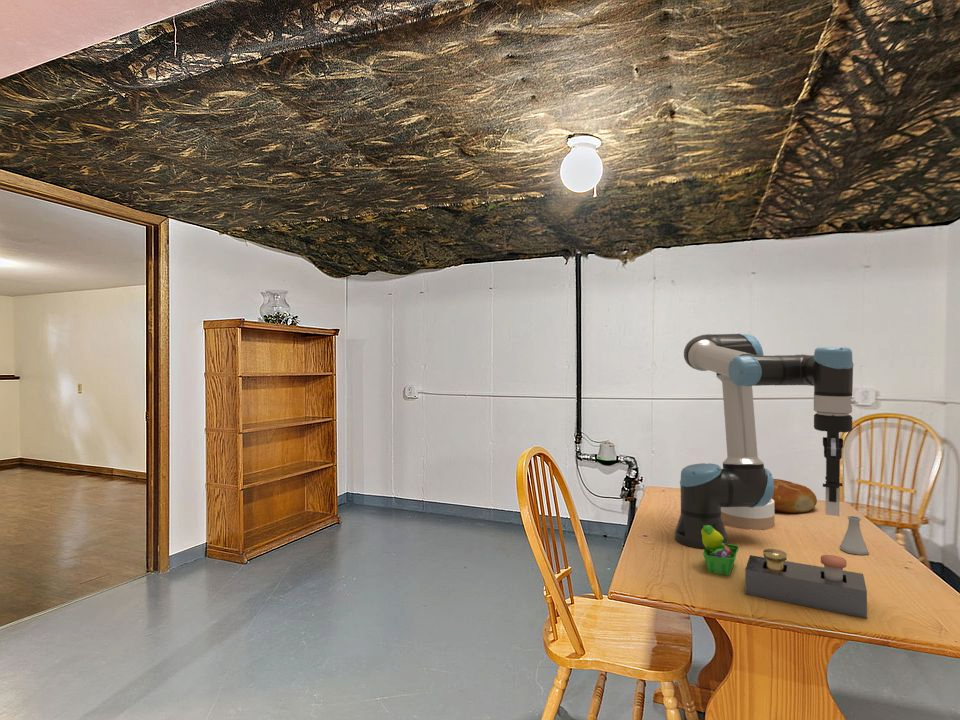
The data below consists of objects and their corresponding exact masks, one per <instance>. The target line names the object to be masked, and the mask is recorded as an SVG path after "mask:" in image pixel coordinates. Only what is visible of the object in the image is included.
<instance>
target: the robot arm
mask: <svg viewBox="0 0 960 720" xmlns="http://www.w3.org/2000/svg"><path fill="white" fill-rule="evenodd" d="M683 358H684V362H685V363H686V364H687V365H688V366H689V367H690V368H692V369H694V370H696V371H700V372H701V371H702V372H707V371H710V372H713V373H715V374H716V378H717V379H718V380H720V381H721V383H722V384H721V385H722V400H723V411H724V412H723V413H724V425H725V427H724V428H725V441H726V443H725V444H726V453H727V455H726V458H725V459H724V460H723V461H722V468H721V465H719V464H716V463H711V462H710V463H694V464H690V465H689V464H688V465H686V466H685V467H683V468H682V470H681V472H680V480H679V485H680V486H679V487H680V515H679V519H678V521H677V524H676V526H675V531H674V539H675V541H676V542H678V544H679V543H680V544H681V545H685V546H688V547H692V548H696V549H704V550H705V548H706V547H705V546H704V544H703V541H702V534H701V530H702V529H703V526H704V525H705V526H707V525H710V526H712V527H713V528H714V529H715V530H716V531H718V532H719V533H720V534H721V535H722V536H723V538H724V540H723V541H722V543H725V544H728V533H727V531H726V529H725V524H724V523H723V522H722V519H721V507H750V508H753V507H759V506H765V505H766V504H768V503H769V501H770V500H771V498H772V496H773V492H774V480H773V479H774V477H773V474H772V473H771V471H770V469H768V468H766V467H765V465H764V464H765V463H764V462H763V461H762V460H761V459H760V458H759V457H758V456H759V455H758V444H757V442H758V441H757V432H756V431H757V430H756V420H755V419H756V417H755V407H754V406H755V405H754V393H753V387H754V386H756V387H758V386H760V387H761V386H811V387H813V390H814V391H813V411H814V412H815V413H814V415H813V428H814V429H815V430H817V431H820V432H826V437H825V436H823V437H822V446H823V456H824V458H825V483H822V487H823V488H825V509H824V510H825V515H826V516H835V517H840V502H841V501H840V499H841V498H840V493H841V492H840V488H841V487H843V483H842V482H840V477H841V476H840V475H841V474H840V473H841V471H840V470H841V469H840V468H841V465H840V464H841V463H840V462H841V459H843V448H844V438H840V433H850V432H851V431H853V416H852V415H850V414H852V413H853V405H855V404H856V400H855V399H853V389H854V388H853V387H854V386H853V382H854V380H853V379H854V365H855V364H854V362H853V351H852V349H851V348H849V347H846V346H845V347H843V346H841V347H838V346H837V347H834V346H833V347H831V346H830V347H828V346H827V347H822V346H821V347H816V348H815V349H814V353H813V355H811V354H793V355H788V354H787V355H786V354H785V355H784V354H783V355H781V354H779V355H764V351H763V347H762V344H761V343H760V341H759V339H757V337H755V336H754V335H751V334H745V333H744V334H743V333H725V334H721V333H719V334H710V333H707V334H702V335H698V336H696V337H694V338H692V339H690V340H689V341H688V342H687V343H686V345H685V347H684V350H683Z"/></svg>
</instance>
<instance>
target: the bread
mask: <svg viewBox="0 0 960 720" xmlns="http://www.w3.org/2000/svg"><path fill="white" fill-rule="evenodd" d="M773 480H774V492H773V496H772V499H773V500H774V505H775V513H777V512H778V513H786V514H787V513H788V514H789V513H790V514H803V513H807V512H809V511H811V510H813V509H814V508H815V507H816V506H817V504H818V503H817V502H818V499H817V496H816V494H815V493H814V492H813V491H812V489H810V488H809V487H807V486H806V485H802V484H799V483H795V482H792V481H788V480H785V479H779V478H773Z"/></svg>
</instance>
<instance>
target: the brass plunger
mask: <svg viewBox="0 0 960 720" xmlns="http://www.w3.org/2000/svg"><path fill="white" fill-rule="evenodd" d="M762 557H765V558H767V569H770V570H776V571H782V572H783V561H787V559H788V558H787V557H788V555H787V552H785V551H783V550H780V549H776V548H766V549H765V548H764V549H763V556H762Z"/></svg>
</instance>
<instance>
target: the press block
mask: <svg viewBox="0 0 960 720" xmlns="http://www.w3.org/2000/svg"><path fill="white" fill-rule="evenodd" d="M744 572H745V573H744V575H745V577H744V578H745V580H744V581H745V589H744V590H745V592H744V593H745V595H747V596H752V597H756V598H761V599H767V600H772V601H778V602H781V603H787V604H792V605H798V606H802V607H807V608H812V609H818V610H822V611H827V612H833V613H837V614H841V615H842V614H843V615H846V616H847V615H848V616H851V617H858V618H862V619H868V589H867V585H866V582H865V577H864V573H861V572H853V571H849V570H843V582H839V581H833V580H827V579H824V567H823V566H818V565H813V564H812V565H811V564H807V563H806V564H805V563H801V562H800V563H799V562H793V561H787V560H785V561H783V572H782V571H776V570H770V569H767V558H765V557H764V556H757V555H752V554H751V555H749V558H748V560H747V563H746V567H745V571H744Z"/></svg>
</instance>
